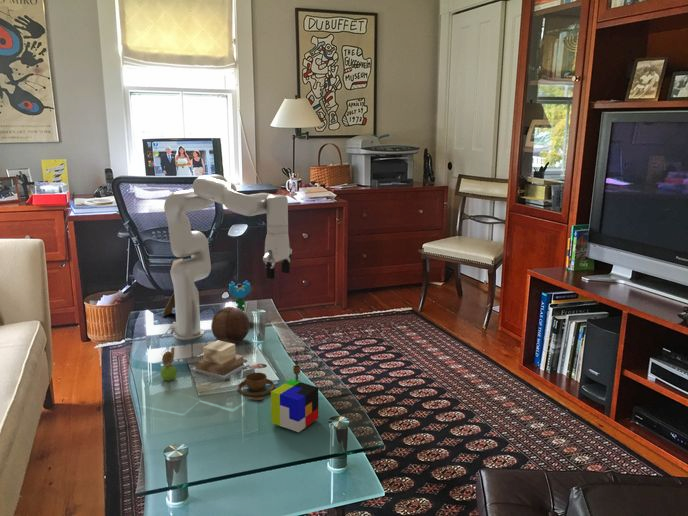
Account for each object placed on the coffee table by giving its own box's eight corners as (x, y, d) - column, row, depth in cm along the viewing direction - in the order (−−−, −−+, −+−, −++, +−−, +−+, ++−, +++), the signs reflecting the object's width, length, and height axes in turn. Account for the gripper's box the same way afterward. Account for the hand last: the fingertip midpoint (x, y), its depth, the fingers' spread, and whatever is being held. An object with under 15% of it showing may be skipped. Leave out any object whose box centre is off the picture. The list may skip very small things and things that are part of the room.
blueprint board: (189, 371, 207) (189, 368, 207) (215, 357, 219) (215, 355, 219) (225, 380, 200) (225, 377, 200) (249, 366, 212) (249, 363, 212)
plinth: (195, 369, 207) (194, 348, 205) (217, 357, 217) (216, 337, 215) (222, 376, 201) (221, 354, 200) (243, 363, 212) (243, 343, 210)
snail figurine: (182, 376, 202) (180, 344, 200) (171, 384, 196) (169, 351, 194) (169, 374, 204) (167, 342, 201) (157, 382, 198) (155, 348, 195)
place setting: (244, 378, 203) (244, 362, 202) (301, 380, 202) (301, 364, 201) (232, 401, 186) (232, 384, 185) (294, 403, 185) (294, 386, 184)
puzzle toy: (298, 432, 166) (298, 400, 164) (271, 422, 172) (270, 391, 169) (318, 418, 175) (318, 387, 173) (291, 409, 180) (291, 379, 178)
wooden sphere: (253, 337, 241) (253, 302, 238) (244, 350, 226) (243, 314, 223) (218, 335, 242) (217, 301, 239) (206, 349, 228) (205, 312, 224)
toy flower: (251, 323, 257) (250, 284, 253) (231, 325, 255) (229, 285, 251) (250, 317, 266) (248, 279, 262) (230, 318, 264) (228, 280, 260)
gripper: (282, 225, 218) (282, 269, 222) (254, 232, 203) (255, 279, 207) (299, 226, 215) (299, 271, 219) (272, 234, 200) (273, 282, 204)
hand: (278, 275), depth 213 cm, fingers open, 9 cm apart
